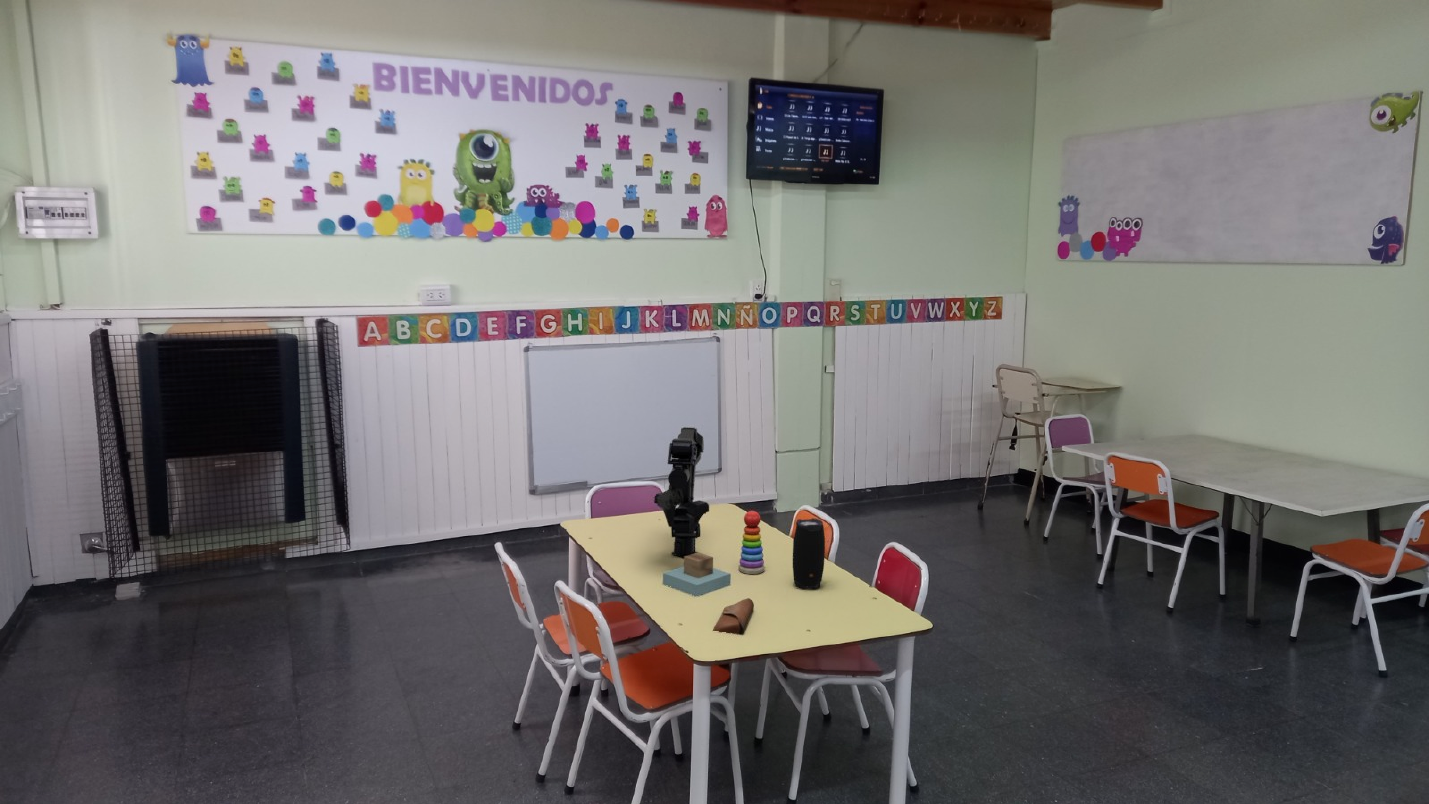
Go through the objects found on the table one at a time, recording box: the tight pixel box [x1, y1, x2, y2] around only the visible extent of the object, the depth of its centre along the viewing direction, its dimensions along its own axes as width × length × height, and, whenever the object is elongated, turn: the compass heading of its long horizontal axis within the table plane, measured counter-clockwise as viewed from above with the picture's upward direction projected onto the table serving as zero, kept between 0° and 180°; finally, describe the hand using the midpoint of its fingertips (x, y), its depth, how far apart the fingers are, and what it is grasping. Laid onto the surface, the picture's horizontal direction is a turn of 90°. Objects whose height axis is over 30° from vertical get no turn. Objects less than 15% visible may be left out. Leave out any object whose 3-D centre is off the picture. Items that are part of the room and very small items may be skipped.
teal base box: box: [662, 565, 731, 597], centre depth 278 cm, size 14×14×4 cm
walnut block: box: [683, 551, 714, 578], centre depth 277 cm, size 6×6×5 cm
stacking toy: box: [738, 510, 766, 575], centre depth 290 cm, size 8×8×19 cm
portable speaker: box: [792, 518, 826, 590], centre depth 278 cm, size 9×9×20 cm
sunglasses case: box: [712, 598, 755, 636], centre depth 252 cm, size 18×7×7 cm
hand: (680, 530), depth 291 cm, fingers open, 9 cm apart
